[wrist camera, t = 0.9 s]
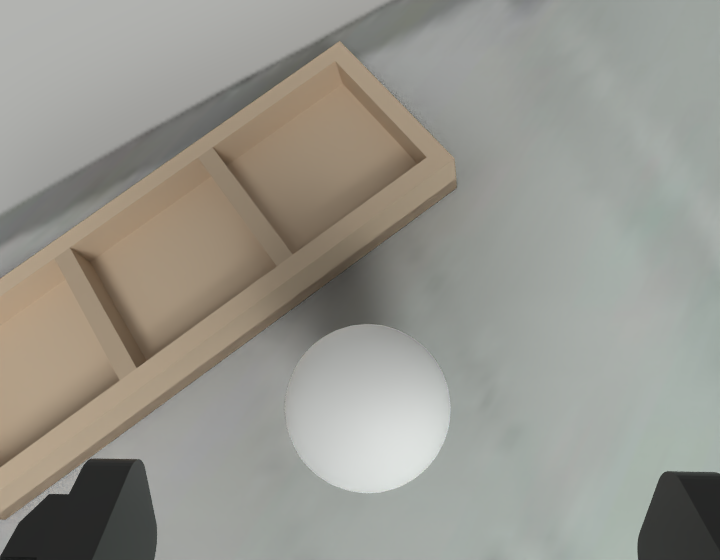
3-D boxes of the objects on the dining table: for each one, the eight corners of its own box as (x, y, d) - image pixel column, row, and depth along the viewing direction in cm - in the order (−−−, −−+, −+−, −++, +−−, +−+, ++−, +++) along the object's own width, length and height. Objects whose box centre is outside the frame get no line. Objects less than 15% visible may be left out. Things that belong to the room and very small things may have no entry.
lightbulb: (350, 363, 33) (290, 288, 23) (469, 387, 31) (461, 318, 21) (319, 485, 31) (239, 461, 21) (445, 517, 29) (424, 508, 19)
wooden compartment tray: (349, 75, 39) (339, 40, 37) (456, 187, 35) (454, 158, 33) (-58, 362, 37) (-101, 349, 34) (5, 519, 33) (-39, 518, 30)
